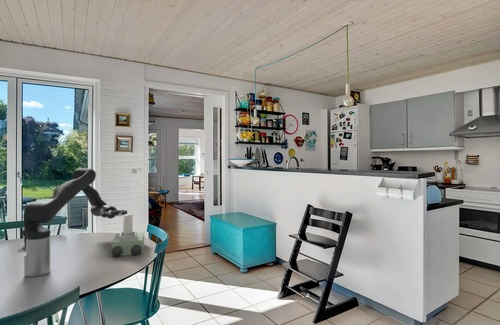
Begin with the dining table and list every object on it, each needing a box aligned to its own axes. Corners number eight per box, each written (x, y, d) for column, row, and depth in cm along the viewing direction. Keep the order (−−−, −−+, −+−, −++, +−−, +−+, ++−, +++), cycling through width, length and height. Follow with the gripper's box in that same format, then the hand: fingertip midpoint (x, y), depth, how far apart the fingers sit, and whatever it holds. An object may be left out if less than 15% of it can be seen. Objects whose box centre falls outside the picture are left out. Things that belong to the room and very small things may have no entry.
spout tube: (122, 240, 167) (122, 215, 167) (123, 238, 172) (123, 214, 172) (132, 239, 168) (132, 215, 168) (132, 237, 173) (133, 213, 173)
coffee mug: (37, 246, 179) (37, 230, 179) (20, 247, 176) (20, 231, 176) (43, 241, 190) (42, 225, 190) (26, 242, 187) (26, 226, 187)
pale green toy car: (111, 257, 162) (111, 237, 162) (117, 245, 183) (117, 228, 182) (141, 255, 167) (141, 235, 166) (144, 244, 187) (144, 226, 187)
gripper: (96, 206, 183) (106, 210, 171) (120, 204, 193) (130, 207, 182) (96, 218, 183) (106, 223, 171) (119, 216, 193) (130, 219, 182)
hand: (118, 215), depth 176 cm, fingers open, 8 cm apart
